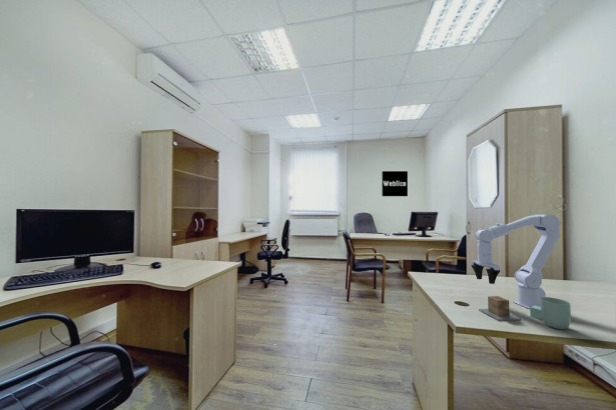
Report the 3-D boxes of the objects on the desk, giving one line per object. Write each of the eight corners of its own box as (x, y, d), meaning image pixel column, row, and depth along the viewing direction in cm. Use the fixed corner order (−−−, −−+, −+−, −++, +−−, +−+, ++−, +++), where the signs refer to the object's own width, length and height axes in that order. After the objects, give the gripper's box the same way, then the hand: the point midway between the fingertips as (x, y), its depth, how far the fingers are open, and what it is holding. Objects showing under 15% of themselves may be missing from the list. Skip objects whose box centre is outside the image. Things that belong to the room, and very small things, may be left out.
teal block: (535, 314, 100) (535, 305, 100) (547, 318, 96) (547, 308, 96) (530, 316, 98) (530, 306, 98) (542, 320, 95) (542, 310, 95)
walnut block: (499, 311, 102) (498, 296, 102) (509, 316, 97) (509, 300, 97) (488, 311, 102) (487, 296, 102) (498, 316, 97) (497, 300, 97)
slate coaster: (499, 309, 105) (499, 308, 105) (521, 320, 95) (521, 318, 95) (478, 310, 104) (478, 309, 104) (497, 320, 94) (497, 319, 94)
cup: (536, 322, 93) (535, 297, 93) (553, 321, 93) (552, 296, 94) (558, 332, 85) (557, 304, 85) (577, 331, 86) (576, 304, 86)
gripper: (466, 251, 122) (466, 277, 122) (489, 256, 108) (490, 286, 108) (478, 251, 123) (479, 277, 122) (503, 256, 108) (504, 285, 108)
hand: (485, 281), depth 115 cm, fingers open, 7 cm apart
